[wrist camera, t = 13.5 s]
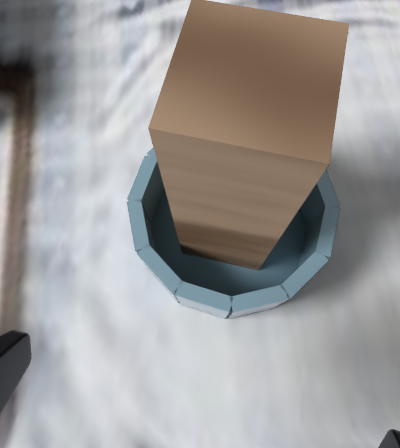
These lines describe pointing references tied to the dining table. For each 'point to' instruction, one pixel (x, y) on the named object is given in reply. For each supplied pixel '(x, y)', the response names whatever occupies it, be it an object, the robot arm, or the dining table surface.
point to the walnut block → (245, 125)
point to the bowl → (222, 272)
